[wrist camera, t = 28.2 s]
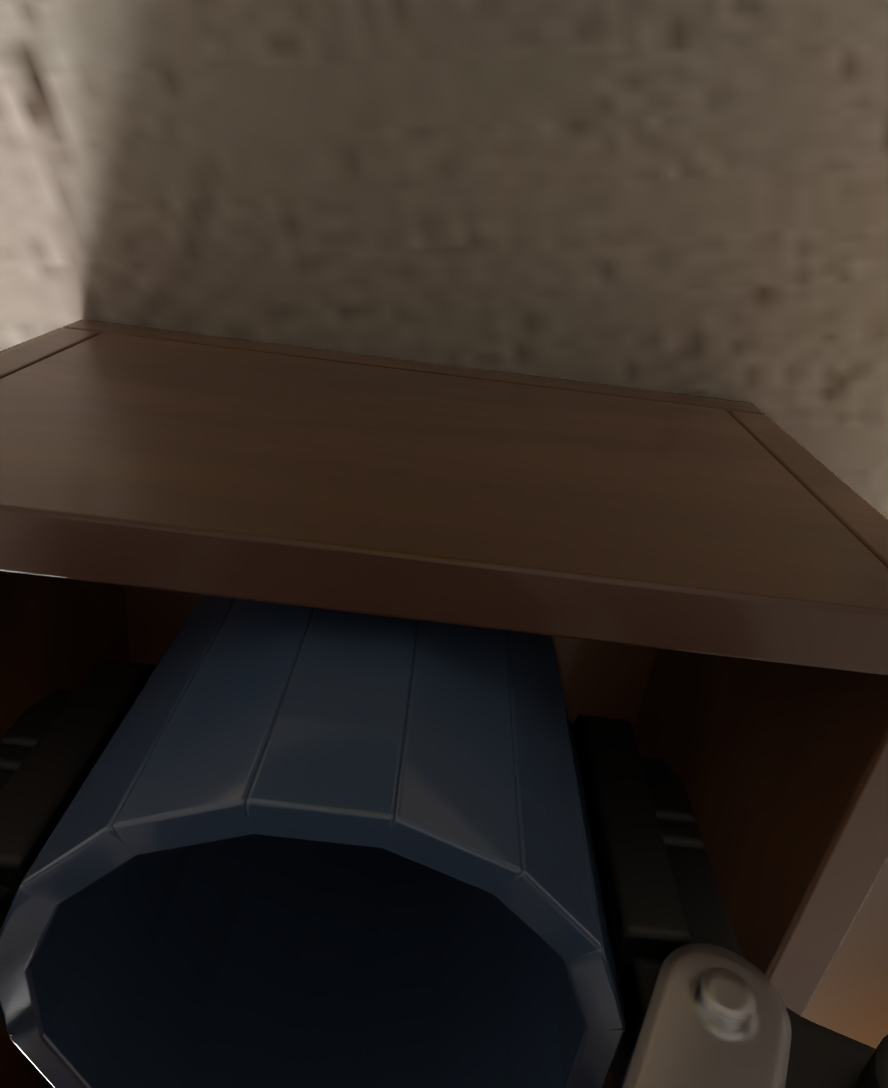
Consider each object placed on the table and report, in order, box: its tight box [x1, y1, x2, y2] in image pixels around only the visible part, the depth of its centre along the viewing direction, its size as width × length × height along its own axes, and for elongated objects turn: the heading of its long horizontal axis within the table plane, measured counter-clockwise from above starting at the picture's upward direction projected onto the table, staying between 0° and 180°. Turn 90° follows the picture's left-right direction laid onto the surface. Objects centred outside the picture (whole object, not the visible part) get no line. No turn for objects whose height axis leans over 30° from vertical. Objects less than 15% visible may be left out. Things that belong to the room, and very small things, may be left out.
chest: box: [0, 320, 888, 1088], centre depth 15 cm, size 16×14×8 cm
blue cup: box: [0, 595, 626, 1088], centre depth 10 cm, size 6×6×6 cm
